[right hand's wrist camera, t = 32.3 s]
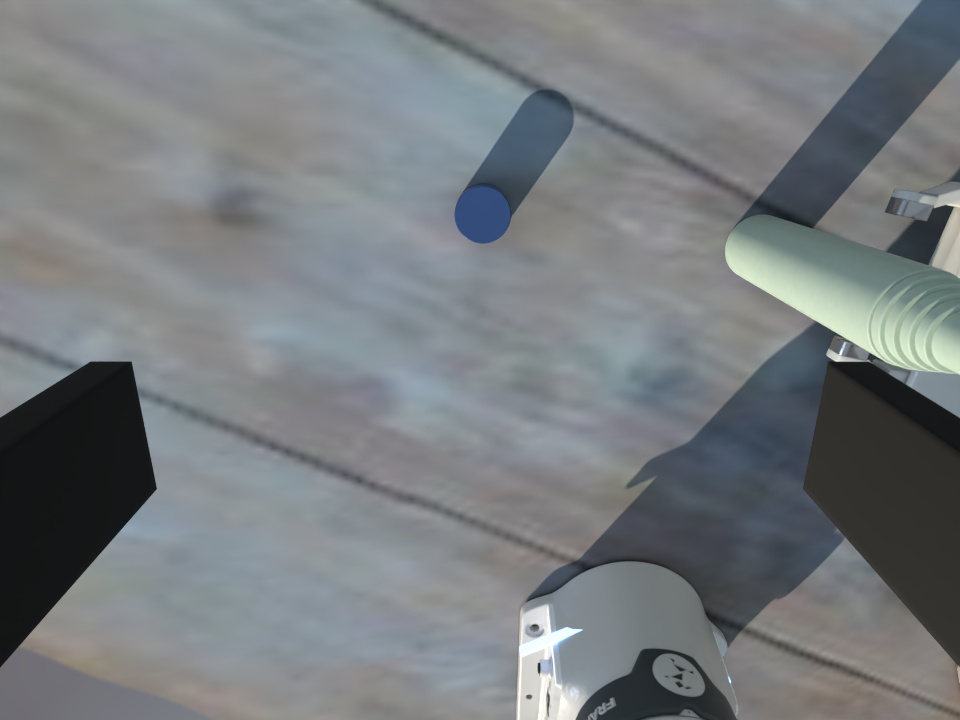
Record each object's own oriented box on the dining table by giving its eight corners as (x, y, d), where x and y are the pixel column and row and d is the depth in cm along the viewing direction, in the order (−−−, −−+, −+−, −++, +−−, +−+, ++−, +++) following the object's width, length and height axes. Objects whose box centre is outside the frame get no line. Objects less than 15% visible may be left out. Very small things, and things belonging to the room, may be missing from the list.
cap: (519, 199, 46) (520, 203, 44) (493, 247, 47) (494, 253, 45) (471, 173, 45) (470, 176, 43) (446, 222, 46) (445, 227, 44)
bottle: (798, 261, 47) (1093, 390, 24) (736, 289, 48) (968, 439, 25) (778, 202, 46) (1074, 281, 23) (715, 232, 46) (941, 336, 24)
